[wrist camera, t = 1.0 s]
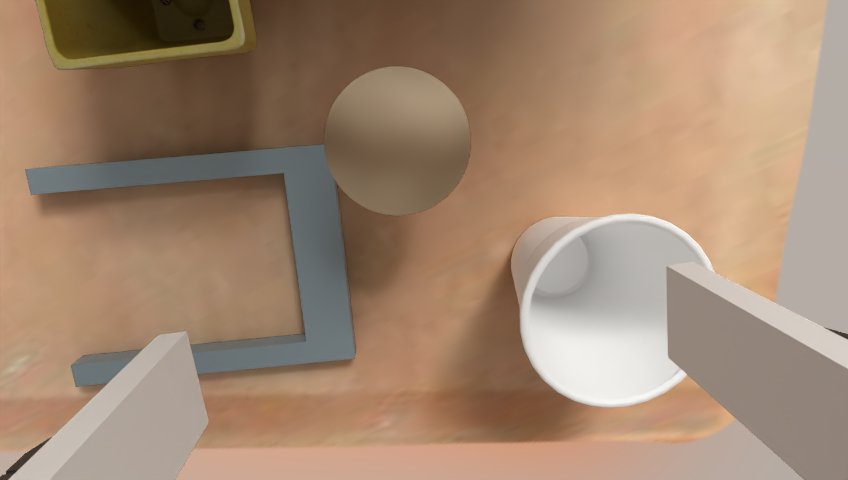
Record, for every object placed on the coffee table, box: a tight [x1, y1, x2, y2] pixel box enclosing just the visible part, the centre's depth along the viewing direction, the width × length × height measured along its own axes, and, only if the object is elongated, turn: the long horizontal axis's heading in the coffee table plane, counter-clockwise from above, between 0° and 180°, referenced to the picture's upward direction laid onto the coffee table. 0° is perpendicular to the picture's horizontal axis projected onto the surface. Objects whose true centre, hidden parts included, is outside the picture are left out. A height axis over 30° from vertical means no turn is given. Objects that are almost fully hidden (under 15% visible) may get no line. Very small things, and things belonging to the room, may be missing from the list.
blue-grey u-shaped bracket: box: [25, 144, 356, 387], centre depth 35 cm, size 18×14×2 cm
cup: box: [511, 213, 714, 408], centre depth 32 cm, size 10×10×11 cm
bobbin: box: [324, 66, 471, 216], centre depth 30 cm, size 7×7×9 cm
